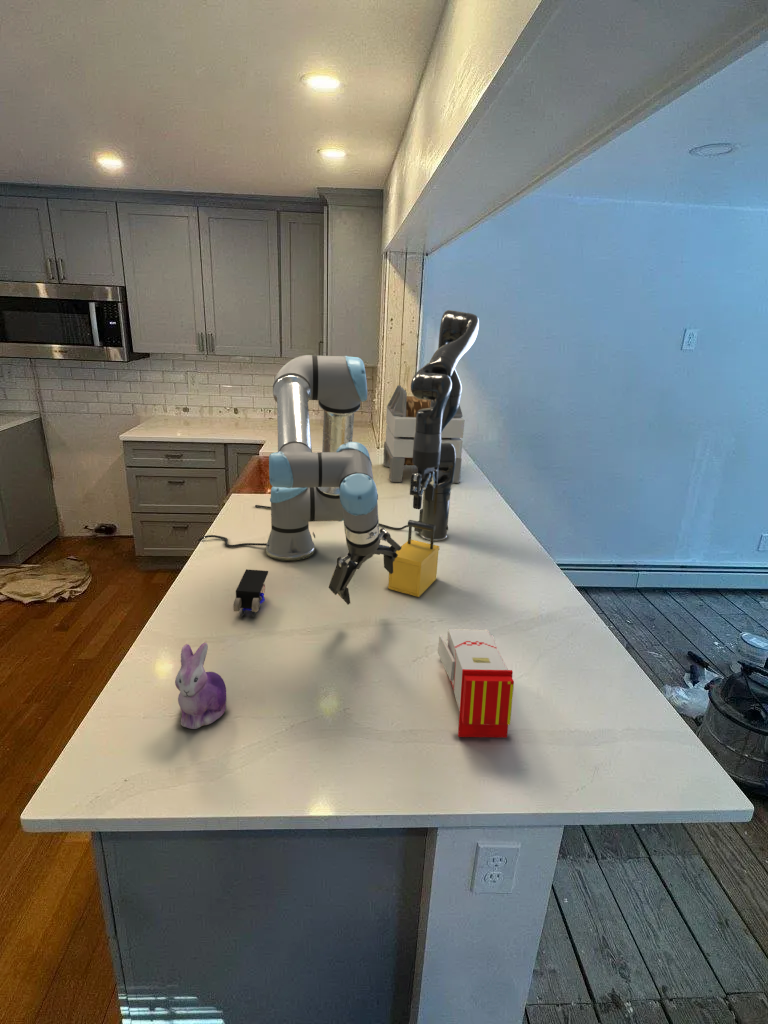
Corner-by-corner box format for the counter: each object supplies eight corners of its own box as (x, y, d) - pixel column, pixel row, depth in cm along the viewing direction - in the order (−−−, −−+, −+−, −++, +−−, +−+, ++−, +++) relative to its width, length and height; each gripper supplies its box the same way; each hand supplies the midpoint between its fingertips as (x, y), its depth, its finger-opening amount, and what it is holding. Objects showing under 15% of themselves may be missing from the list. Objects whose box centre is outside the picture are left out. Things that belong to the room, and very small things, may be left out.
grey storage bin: (382, 463, 289) (386, 382, 275) (445, 464, 293) (451, 384, 279) (390, 482, 257) (394, 392, 243) (460, 483, 261) (468, 394, 247)
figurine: (182, 738, 102) (175, 668, 97) (173, 704, 111) (167, 638, 106) (234, 723, 106) (231, 655, 101) (222, 691, 115) (218, 627, 110)
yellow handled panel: (409, 543, 169) (411, 516, 166) (439, 550, 165) (441, 522, 162) (389, 559, 157) (391, 530, 155) (421, 567, 153) (423, 537, 151)
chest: (407, 571, 171) (408, 544, 168) (436, 579, 167) (438, 551, 164) (388, 588, 161) (389, 559, 157) (418, 597, 157) (421, 567, 154)
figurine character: (260, 625, 142) (270, 591, 155) (258, 600, 138) (268, 567, 152) (233, 624, 141) (245, 590, 155) (230, 599, 138) (243, 567, 152)
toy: (488, 613, 130) (523, 677, 101) (484, 667, 133) (517, 744, 104) (435, 612, 130) (455, 676, 101) (432, 666, 133) (451, 743, 103)
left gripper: (326, 574, 118) (336, 624, 134) (416, 513, 127) (415, 567, 144) (306, 552, 122) (318, 603, 138) (394, 495, 131) (396, 549, 148)
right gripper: (429, 455, 146) (425, 514, 152) (449, 445, 158) (444, 500, 164) (403, 451, 149) (400, 509, 155) (424, 441, 161) (420, 495, 167)
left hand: (367, 585), depth 141 cm, fingers open, 13 cm apart
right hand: (423, 504), depth 159 cm, fingers open, 8 cm apart
